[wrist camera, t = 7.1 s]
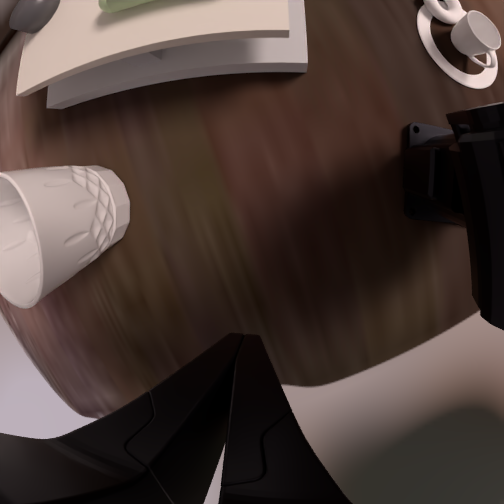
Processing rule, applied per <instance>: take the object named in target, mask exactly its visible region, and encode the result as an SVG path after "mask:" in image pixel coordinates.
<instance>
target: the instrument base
mask: <svg viewBox="0 0 504 504" xmlns="http://www.w3.org/2000/svg"><path fill="white" fill-rule="evenodd" d="M288 12H289V38H246V39H231V40H219V41H210V42H202V43H194V44H188V45H181V46H176V47H170V48H165V49H160V50H155V51H151V52H146V53H142V54H138V55H134V56H130V57H126V58H123V59H119V60H116V61H113V62H109V63H106V64H103V65H100V66H97V67H94V68H91V69H88V70H85V71H82V72H80V73H77V74H75V75H72V76H69V77H67V78H64V79H62V80H60V81H57V82H55V83H53V84H50V85H48V94H47V108H53V109H64V108H67V107H70V106H73V105H76V104H79V103H82V102H85V101H88V100H91V99H95V98H98V97H101V96H105V95H109V94H112V93H116V92H120V91H124V90H128V89H133V88H137V87H142V86H146V85H151V84H156V83H162V82H167V81H173V80H180V79H187V78H194V77H202V76H211V75H222V74H235V73H254V72H304V73H306V72H307V65H308V58H307V38H306V23H305V9H304V0H288Z"/></svg>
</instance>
